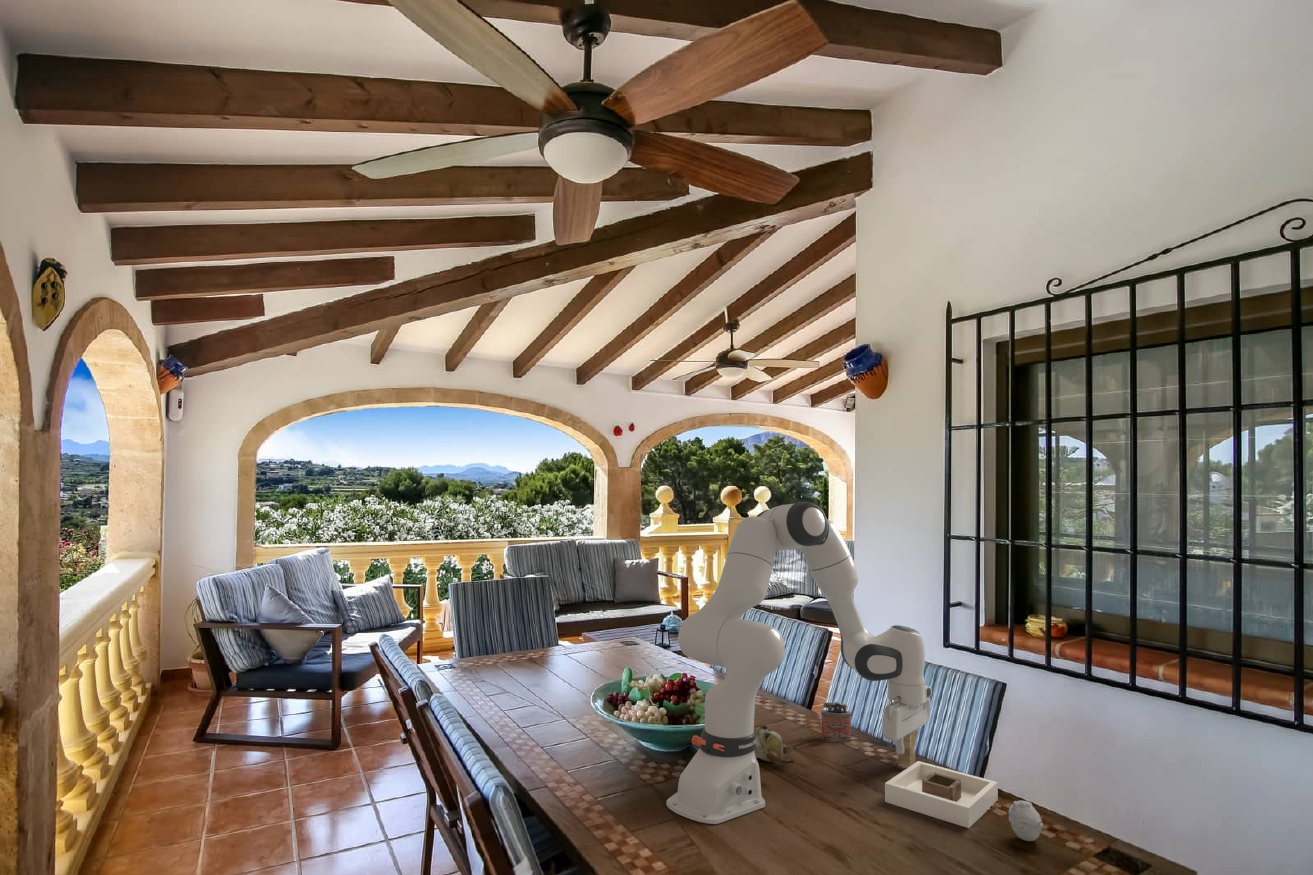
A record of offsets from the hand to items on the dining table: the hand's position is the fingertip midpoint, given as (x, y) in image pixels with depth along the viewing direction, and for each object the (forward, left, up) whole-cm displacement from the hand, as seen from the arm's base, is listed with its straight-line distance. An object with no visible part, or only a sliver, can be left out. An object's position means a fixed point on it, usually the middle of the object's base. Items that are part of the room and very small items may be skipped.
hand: (906, 749), depth 185 cm
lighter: (+5, +22, -4) cm, 23 cm away
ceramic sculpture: (-20, +28, -4) cm, 35 cm away
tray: (-14, -14, -4) cm, 20 cm away
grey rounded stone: (-20, -33, -4) cm, 39 cm away
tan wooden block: (0, 0, -4) cm, 4 cm away
